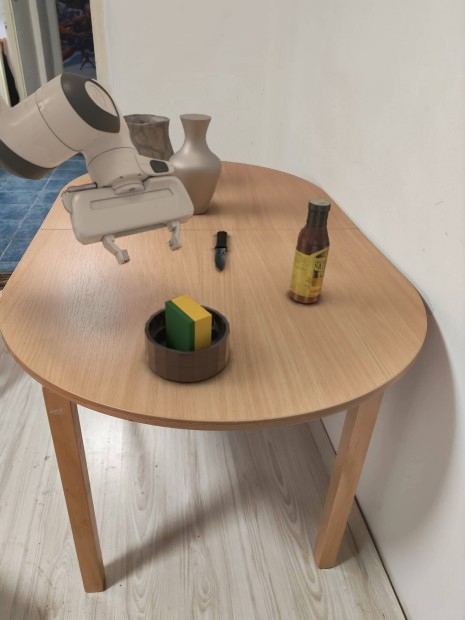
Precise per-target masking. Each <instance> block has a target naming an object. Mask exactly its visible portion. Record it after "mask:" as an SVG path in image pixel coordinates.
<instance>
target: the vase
mask: <svg viewBox="0 0 465 620" xmlns="http://www.w3.org/2000/svg"><path fill="white" fill-rule="evenodd" d="M179 119H180V123H181V125H182V128H183V133H184V141H183V143H182V146H181V147H180V149H179V150H177V151H176V152H174V154H173V155H172V156H171V157H170V159H169V162H170V163H172V165H173V167H174V173H173V175H172V176H175V177H177V178H178V179H179V180H180V181H181V182H182V184H183V185H184V187H185V189H186V191H187V193H188V195H189V197H190V199H191V201H192V204H193V206H194V213H193V215H202V214H204V213H207V210H208V207H209V206H210V204H211V201H212V199H213V197H214V194H215V192H216V189H217V185H218V182H219V179H220V176H221V173H222V170H223V169H222V168H223V163H222V160H221V158H220V157H219V156H217V155H216V154H215V153H214V152H213V151H212V150H211V149H210V147H209V145H208V142H207V133H208V129H209V127H210V124H211V121H212V116H211V115H208V114H202V113H183V114H180V115H179Z"/></svg>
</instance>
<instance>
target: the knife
mask: <svg viewBox="0 0 465 620" xmlns="http://www.w3.org/2000/svg"><path fill="white" fill-rule="evenodd" d="M227 236H228V232H227V231H225V230H218V231H217V232H216V242H215V243H216V244H215V246H214V250H215V251H214V253H215V254H214V264H215V267H216V268H217V269H218V270H219V271H220V272H222V271H223V268H224V266H225V265H226V251H227V250H228V246H227V241H228V240H227V239H228V237H227Z"/></svg>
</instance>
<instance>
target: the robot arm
mask: <svg viewBox="0 0 465 620" xmlns="http://www.w3.org/2000/svg"><path fill="white" fill-rule="evenodd" d="M123 116H124V115H123V113H122V111H121V110H120V108H119V106H118V104H117V102H116V100H115V99H114V97H113V95H112V94H111V93H110V91H109V89H108V88H107V87H106V86H105V85H104V83H102V82H101V81H99V80H97V79H93V78H90V77H87V76H85V75H82V74H79V73H76V72H70V71H64V72H62V73H61V74H58V75H57V76H55V77H53V78H52V79H51V80H49V81H47V82H46V83H44V84H43V85H42V86H40V87H39V88H38V89H36V91H34V92H33V93H31V94H30V95H28V96H27V97H25V98H24V99H23V100H22V101H20V102H18V103H17V104H15V105H13V106H10V105H9V104H8V103H6V100H5V99H4V98H3V96H2V94H1V93H0V167H1V168H2V169H3V170H4V171H6V173H8V174H9V175H12V176H14V177H17V178H21V179H25V180H31V181H40V180H42V179H44V178H46V177H47V176H48V175H49V174H50V173H51V172H53V171H54V170H55V169H57V167H58V166H59V165H61V164H63V163H64V162H66V161H68V160H69V159H70V158H72V157H74V156H75V155H77V154H79V153H81V154H82V155H83V156H84V159H85V166H86V171H87V174H88V176H89V179H90V180H91V182H89V183H84V184H79V185H70V186H67V187H66V189H64V190H63V191H62V193H61V194H60V200H61V204H62V206H63V208H64V210H65V211H66V212H67V213H68V214H69V218H70V219H69V220H70V222H71V227H72V231H73V234H74V237H75V239H76V241H77V242H78V243H79V244H81V245H82V246H88V245H92V244H97V243H102V246H103V248H104V249H105V250H107V251H108V252H109V253H110V254H111V255H113V256H114V257H115V259H116V261H117V264H118V265H119V266H122V265H125V264H129V262H130V261H131V257H130V255H129V252H128V250H127V249H122V248H120V247H119V246H118V245H117V244H116V243H115V242H116V239H119V238H124V237H129V236H133V235H137V234H141V233H146V232H149V231H150V232H151V231H155V230H159V229H165V228H167V231H168V232H169V233H171V238H170V239H169V240H168V241H167V245H168V248H169V250H170V252H175V251H179V250H181V249H182V248H183V244H182V242H181V238H180V233H181V225H183V224H186V223H187V222H188V221H190V219H192V218H193V216H194V214H193V213H194V206H193V204H192V201H191V199H190V197H189V195H188V193H187V191H186V189H185V187H184V185H183V184H182V182H181V181H180V180H179V179H178V178H177V177H175V176H172V175H173V173H174V167H173V165H172V163H170V162H168V161H163V160H158V159H153V158H149V157H145V156H142V155H139V153H138V151H137V149H136V148H135V147H134V145H133V144H132V142H131V139H130V132H129V129H128V126H127V124H126V122H125V120H124V117H123Z"/></svg>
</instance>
